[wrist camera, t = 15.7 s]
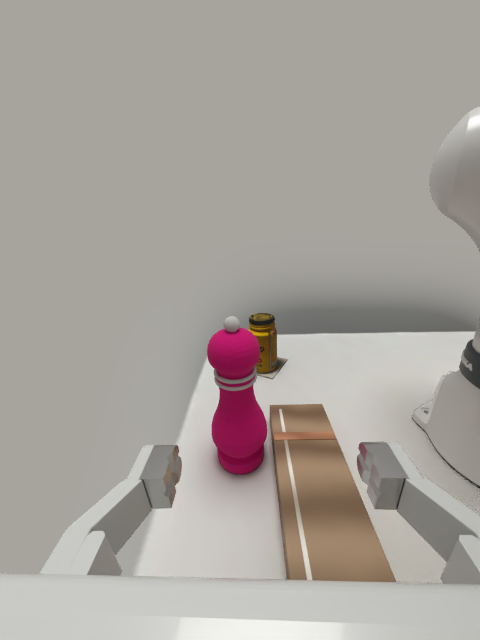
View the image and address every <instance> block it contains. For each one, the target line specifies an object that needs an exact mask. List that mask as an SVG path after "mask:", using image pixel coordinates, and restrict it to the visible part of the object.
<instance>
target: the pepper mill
mask: <svg viewBox="0 0 480 640" xmlns="http://www.w3.org/2000/svg"><path fill="white" fill-rule="evenodd" d="M239 327H240V322H239V320H238V319H237V318H236V317H233V316H230V317H228V318H226V319H225V321H224V328H225V329H222V330H220V331H218V332H217V333H216V334H214V335H213V337H212V338H211V339H210V341H209V344H208V350H207V355H208V360H209V362H210V364H211V365H212V367H213V368H215V369H214V375H215V383H216V384H217V385H218V386H219V389H220V399H219V404H218V407H217V410H216V412H215V414H214V417H213V421H212V438H213V441H214V443H215V445H216V446H217V449H218V457H219V461H220V463H221V465H222V466H223V467H224V468H225V469H226V470H227V471H229V472H231V473H234V474H246V473H250V472H252V471H253V470H255V469H256V468H257V467H258V466H259V465H260V464H261V462H262V460H263V457H264V442H265V440H266V436H267V425H266V420H265V417H264V414H263V412H262V410H261V408H260V406H259V405H258V403H257V401H256V399H255V396H254V390H253V384H254V383H255V381H256V379H257V375H256V366H255V365H256V364H257V362H258V360H259V358H260V346H259V342H258V340H257V338H256V337H255V336H254V335H253V333H251V332H250V331H248V330H246V329H244V328H239Z"/></svg>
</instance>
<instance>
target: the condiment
mask: <svg viewBox="0 0 480 640" xmlns="http://www.w3.org/2000/svg"><path fill="white" fill-rule="evenodd" d="M274 320H275V318H274V316H273V315H271V314H267V313H257V314H254V315H251V317H250V318H249V329H248V331H250V332H251V333H253V335H254V336H255V337H256V338H257V340H258V342H259V346H260V358H259V360H258V362H257V364H256V365H255V366H256V374H257V375H261V376H265V377H269V378H272V379H273V377H274V376H275V375H276V374H277V373H278V371H279V370H280V368H281V367H282V366H283V365H284V363H285V362H286V360H287V359H283V358H278V357H277V330H276V328H275V323H274Z"/></svg>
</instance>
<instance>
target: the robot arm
mask: <svg viewBox="0 0 480 640" xmlns="http://www.w3.org/2000/svg"><path fill="white" fill-rule="evenodd" d="M429 185H430V192H431V196H432V199H433V201H434V203H435V204H436V206H437V207H438V209H439V210H440V211H441V212H442V213H443V214H444V215H445V216H447V217H448V218H450V219H451V220H453V221H454V222H456V223H457V224H458V225H459V226H461V227H462V228H463V229H464V230H465V231H466V232H467V233H468V234H469V236H470V237H471V238H472V239H473V241H474V242H475V244H476V245H477V247H478V249H479V251H480V107H478V108H475V109H473V110H471V111H470V112H469V113H467V114H466V115H465V116H464V117H463V118H462V119H461V120H460V121H459V122H458V123H457V124H456V125H455V127H454V128H453V129H452V130H451V132H450V133H449V134H448V136H447V137H446V138H445V140H444V141H443V143H442V145H441V146H440V148H439V150H438V152H437V154H436V156H435V158H434V161H433V164H432V168H431V172H430V184H429ZM459 368H460V370H459V371H456V372H454V371H449V372H448V373H447V374H446V376H445V375H443V376H442V377H441V379H440V381H439V383H438V386H437V389H436V392H435V395H434V398H433V399H431V400H430V401H428V402H427V403H425V404H424V405H422V406H420V407H419V408H417V409H416V410H414V412H413V415H412V418H413V419H414V421H415V422H416V423H417V424H418V425H419V426H420V427H422V428H423V429H424V430H425V431H426V433H427V434H428V436H429V438H430V440H431V442H432V443H433V445H434V447H435V448H436V449H437V451H438V452H439V453H440V454H441V456H442V457H443V458H444V459H445V460H446V461H447V462H448V463H449V464H450V465H451V466H453V467H454V468H455V469H456V470H457V471H459V472H460V473H461V474H462V475H464V476H465V477H467V478H468V479H469V480H471V481H472V482H474V483H475V484H477V485H479V486H480V319H479V322H478V326H477V329H476V332H475V336H474V339H472V340H470V341H469V342H468V343H467V346H466V348H465V349H464V351H463V353H462V356H461V363H460V366H459ZM359 450H360V452H361V453H360V454H359V455H358V456H357V467H358V471H359V474H360V477H361V479H362V481H363V482H364V483H365V484H367V485H368V488H367V493H368V495H369V498H370V500H371V502H372V504H373V507H374V509H387V510H397V512H398V513H399V514H400V515H401V516H402V517H403V518H404V519H405V520H406V521H407V522H408V523H409V524H410V525H411V526H412V527H413V528H414V529H415V530H416V531H417V532H418V533H419V534H420V535H421V536H422V537H423V538H424V539H425V540H426V541H427V542H428V543H429V544H430V545H431V546H432V547H433V548H434V549H435V550H436V551H437V553H438V554H439V555H440V556H441V557H442V558H443V559H444V560H445V561H446V562H447V564H446V566H445V568H444V571H443V573H442V575H441V580H442V582H443V584H441V583H400V582H360V581H320V580H280V579H239V578H198V577H156V576H121V573H122V569H121V566H120V564H119V562H118V560H117V558H116V556H115V555H116V554H117V553H118V552H119V550H120V549H121V548H122V547H123V545H124V544H125V543H126V542H127V540H128V539H129V538H130V537H131V535H132V534H133V533H134V532H135V530H136V529H137V528H138V527H139V525H140V524H141V523H142V522H143V521H144V519H145V518H146V517H147V516H148V514H149V513H150V512H151V511H152V509H159V508H172V504H173V501H174V497H175V494H176V489H175V485H176V484H177V483H178V482H179V479H180V476H181V469H182V462H181V458H180V457H179V456H178V453H179V449H178V446H177V445H145V446H144V447H143V448H142V449H141V451H140V453H139V455H138V457H137V459H136V461H135V463H134V466H133V467H132V470H131V471H130V474H129V475H128V478H127V480H122V481H121V482H120V483H119V484H118V485H117V486H116V487H115V488H113V489H112V490H111V491H110V492H109V493H108V494H107V495H105V496H104V497H103V498H102V499H101V500H100V501H99V502H97V503H96V504H95V505H94V506H93V507H91V508H90V509H89V510H88V511H87V512H86V513H85V514H84V515H82V516H81V517H80V518H79V519H78V520H77V521H75V522H74V523H73V524H72V525H71V526H70V527H69V528H67V529H66V531H65V533H64V534H63V536H62V538H61V539H60V541H59V542H58V545H57V546H56V547H55V549H54V551H53V552H52V554H51V556H50V558H49V559H48V561H47V562H46V564H45V565H44V567H43V569H42V570H41V572H40V574H31V573H0V640H480V515H478V514H477V513H475V512H474V511H473V510H471V509H470V508H468V507H467V506H465V505H464V504H463V503H461V502H460V501H458V500H457V499H456V498H454V497H453V496H451V495H450V494H449V493H447V492H446V491H444V490H443V489H442V488H440V487H439V486H437V485H436V484H434V483H433V482H432V481H430V480H429V479H424V478H423V477H422V475H421V474H420V472H419V471H418V469H417V468H416V466H415V465H414V463H413V462H412V461H411V459H410V458H409V456H408V455H407V453H406V452H405V450H404V449H403V447H402V446H401V445H400V443H398V442H361V443H360V444H359Z"/></svg>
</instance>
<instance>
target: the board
mask: <svg viewBox="0 0 480 640" xmlns="http://www.w3.org/2000/svg"><path fill="white" fill-rule="evenodd" d="M270 425H271V435H272V444H273V453H274V462H275V471H276V481H277V490H278V499H279V508H280V517H281V527H282V536H283V545H284V554H285V563H286V573H287V580H320V581H360V582H396V580H395V578H394V575H393V573H392V570H391V568H390V566H389V563H388V561H387V559H386V556H385V554H384V551H383V549H382V547H381V544H380V542H379V539H378V537H377V535H376V532H375V530H374V527H373V525H372V523H371V520H370V518H369V515H368V513H367V511H366V508H365V506H364V503H363V501H362V499H361V496H360V494H359V491H358V489H357V487H356V484H355V482H354V479H353V477H352V475H351V472H350V470H349V468H348V465H347V463H346V460H345V458H344V456H343V453H342V451H341V448H340V446H339V444H338V441H337V439H336V436H335V434H334V432H333V429H332V427H331V424H330V422H329V420H328V417H327V415H326V412H325V410H324V408H323V405H322V404H305V405H270Z"/></svg>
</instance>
